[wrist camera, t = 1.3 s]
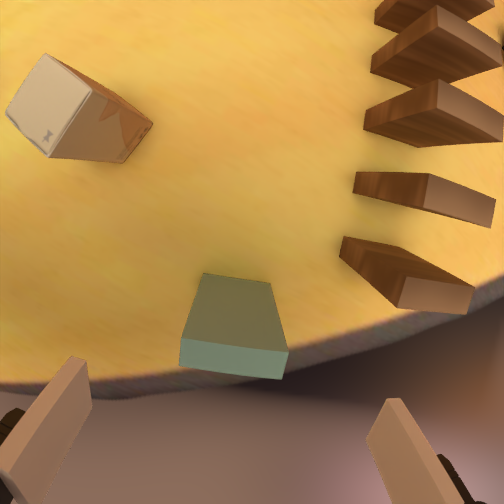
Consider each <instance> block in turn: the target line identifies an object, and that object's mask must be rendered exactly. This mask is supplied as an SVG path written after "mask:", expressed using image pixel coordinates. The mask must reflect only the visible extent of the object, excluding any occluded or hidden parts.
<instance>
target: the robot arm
mask: <svg viewBox="0 0 504 504" xmlns="http://www.w3.org/2000/svg"><path fill="white" fill-rule="evenodd" d="M92 408H93V406H92V400H91V394H90V387H89V379H88V371H87V362H86V360H82V359H79V358H76V357H73V356H71V357H70V358H69V359H68V360H67V362H66V363H65V364H64V365H63V366H62V368H61V369H60V370H59V371H58V372H57V374H56V375H55V376H54V377H53V378H52V380H51V381H50V382H49V383H48V385H47V386H46V387H45V388H44V390H43V391H42V392H41V393H40V395H39V396H38V397H37V398H36V400H35V401H34V402H33V404H32V405H31V406H30V407H29V409H28V410H27V411H26V412H25V411H23V410H21V409H19V408H15V409H14V410H12V411H10V412H8V413H7V414H6V415H5V416H4V417H3V419H2V420H1V421H0V504H10V503H11V501H12V499H13V498H14V499H15V500H16V502H17V503H18V504H42V502H43V500H44V498H45V496H46V494H47V492H48V490H49V488H50V485H51V484H52V482H53V480H54V478H55V476H56V474H57V472H58V470H59V468H60V466H61V464H62V462H63V460H64V459H65V457H66V455H67V453H68V451H69V449H70V447H71V445H72V444H73V442H74V440H75V438H76V436H77V434H78V432H79V431H80V429H81V427H82V425H83V423H84V422H85V420H86V418H87V416H88V415H89V413H90V411H91V409H92ZM366 442H367V444H368V447H369V449H370V451H371V453H372V456H373V458H374V461H375V463H376V465H377V468H378V470H379V473H380V475H381V477H382V480H383V482H384V484H385V487H386V489H387V492H388V494H389V497H390V499H391V501H392V504H486V503H484V502H481V501H476V502H475V501H474V500H473V498H472V497H471V495H470V493H469V492H468V490H467V488H466V487H465V485H464V483H463V482H462V480H461V479H460V477H458V474H457V472H456V471H454V468H453V466H452V464H451V463H450V461H449V460H448V459H447V458H445V457H444V456H443V455H442V454H438V455H436V454H435V452H434V451H433V449H432V447H431V446H430V444H429V443H428V441H427V439H426V438H425V436H424V435H423V433H422V431H421V430H420V428H419V427H418V425H417V423H416V422H415V420H414V419H413V417H412V416H411V414H410V412H409V411H408V410H407V408H406V406H405V405H404V403H403V402H402V400H401V399H400V398H389V399H386V401H385V403H384V405H383V407H382V409H381V411H380V413H379V415H378V417H377V419H376V421H375V423H374V425H373V427H372V428H371V430H370V432H369V434H368V436H367V438H366Z"/></svg>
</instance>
